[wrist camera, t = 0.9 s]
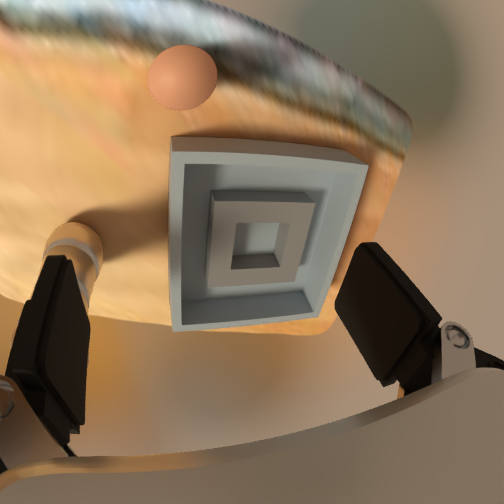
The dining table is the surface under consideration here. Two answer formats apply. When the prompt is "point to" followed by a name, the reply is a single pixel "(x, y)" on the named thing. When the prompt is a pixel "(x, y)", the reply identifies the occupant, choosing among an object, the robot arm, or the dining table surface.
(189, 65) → the peg
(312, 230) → the grey socket tray
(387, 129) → the dining table surface
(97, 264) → the plastic bottle
